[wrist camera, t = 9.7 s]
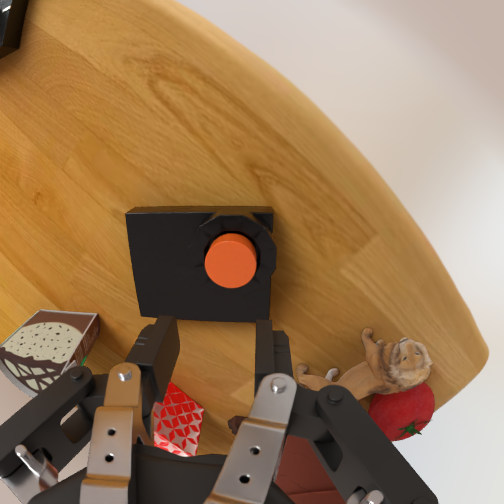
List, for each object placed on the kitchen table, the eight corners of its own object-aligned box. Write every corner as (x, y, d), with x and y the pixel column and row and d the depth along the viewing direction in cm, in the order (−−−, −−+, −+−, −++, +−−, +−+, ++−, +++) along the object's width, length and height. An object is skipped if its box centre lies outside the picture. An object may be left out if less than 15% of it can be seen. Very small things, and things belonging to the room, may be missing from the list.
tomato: (432, 361, 31) (457, 405, 24) (409, 406, 34) (426, 447, 27) (372, 368, 31) (392, 419, 24) (354, 413, 35) (366, 460, 27)
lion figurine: (390, 296, 28) (428, 352, 19) (411, 325, 29) (446, 379, 21) (280, 374, 32) (284, 439, 23) (308, 395, 33) (317, 456, 25)
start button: (207, 232, 22) (203, 240, 20) (256, 233, 22) (256, 241, 20) (209, 276, 23) (206, 287, 22) (256, 278, 23) (255, 288, 22)
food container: (48, 346, 32) (12, 394, 23) (32, 308, 30) (-12, 353, 21) (123, 357, 32) (91, 419, 22) (108, 313, 29) (65, 374, 20)
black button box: (134, 204, 25) (115, 215, 21) (275, 203, 25) (277, 215, 21) (147, 304, 29) (134, 327, 25) (270, 310, 28) (272, 335, 25)
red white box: (163, 423, 36) (151, 467, 29) (122, 390, 34) (103, 435, 27) (204, 408, 34) (196, 458, 27) (161, 372, 32) (142, 423, 25)
